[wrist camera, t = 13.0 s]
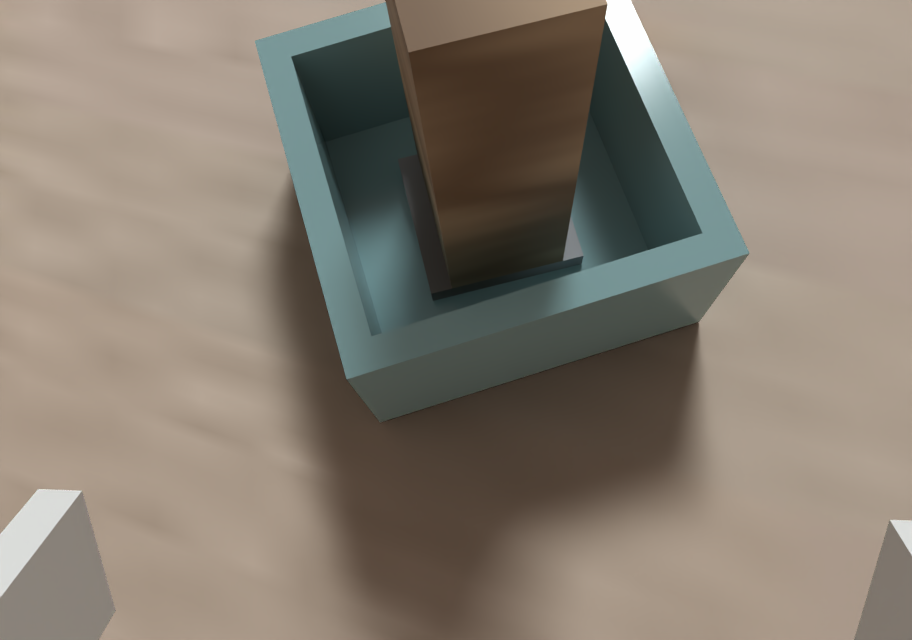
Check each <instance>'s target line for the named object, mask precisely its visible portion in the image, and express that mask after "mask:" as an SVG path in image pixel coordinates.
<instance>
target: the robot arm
mask: <svg viewBox="0 0 912 640" xmlns="http://www.w3.org/2000/svg"><path fill="white" fill-rule="evenodd" d="M115 611H116V610H115V606H114V603H113V599H112V596H111V592H110V589H109V585H108V581H107V578H106V574H105V571H104V567H103V564H102V560H101V556H100V553H99V549H98V546H97V542H96V539H95V535H94V532H93V528H92V524H91V521H90V517H89V514H88V510H87V507H86V503H85V499H84V496H83V492H82V491H75V490H48V489H38V490H37V491H36V492H35V494H34V495H33V496H32V497H31V498H30V500H29V501H28V502H27V503H26V504H25V506H24V507H23V508H22V509H21V510H20V511H19V513H18V514H17V515H16V516H15V517H14V519H13V520H12V521H11V522H10V523H9V524H8V526H7V527H6V528H5V529H4V530H3V532H2V533H1V534H0V640H99V638H100V636H101V635H102V633H103V631H104V630H105V628H106V626H107V624H108V623H109V621H110V619H111V618H112V616H113V614H114V612H115ZM854 640H912V521H908V520H890V521H889V524H888V527H887V531H886V534H885V537H884V541H883V544H882V548H881V551H880V554H879V558H878V561H877V564H876V568H875V571H874V575H873V578H872V581H871V585H870V588H869V591H868V595H867V598H866V602H865V605H864V608H863V612H862V615H861V618H860V622H859V625H858V629H857V632H856V635H855V639H854Z"/></svg>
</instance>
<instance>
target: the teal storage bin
mask: <svg viewBox="0 0 912 640" xmlns="http://www.w3.org/2000/svg"><path fill="white" fill-rule="evenodd" d="M606 1H607V3H608V6H607V11H606V17H605V23H604V28H603V34H602V40H601V46H600V51H599V57H598V63H597V69H596V74H595V80H594V86H593V91H592V97H591V103H590V109H589V114H588V120H587V126H586V131H585V137H584V143H583V149H582V154H581V160H580V166H579V172H578V177H577V183H576V189H575V194H574V200H573V206H572V212H571V218H572V221H573V224H574V227H575V230H576V233H577V237H578V240H579V243H580V246H581V249H582V252H583V255H584V256H583V261H582V264H579V265H575V266H571V267H567V268H563V269H559V270H555V271H551V272H547V273H543V274H539V275H535V276H531V277H527V278H523V279H519V280H515V281H511V282H507V283H503V284H499V285H495V286H491V287H487V288H483V289H479V290H475V291H471V292H467V293H463V294H459V295H455V296H451V297H447V298H443V299H439V300H435V301H433V299H432V295H431V291H430V287H429V283H428V279H427V275H426V271H425V267H424V263H423V259H422V255H421V251H420V247H419V243H418V239H417V235H416V231H415V227H414V223H413V219H412V215H411V211H410V207H409V203H408V199H407V195H406V191H405V187H404V183H403V179H402V175H401V171H400V167H399V163H398V159H400V158H404V157H408V156H412V155H416V154H417V150H416V146H415V141H414V136H413V131H412V126H411V122H410V117H409V112H408V107H407V102H406V97H405V93H404V88H403V83H402V78H401V73H400V68H399V64H398V59H397V54H396V49H395V44H394V39H393V35H392V30H391V25H390V20H389V15H388V10H387V6H386V2H385V3H382V4H378V5H375V6H371V7H368V8H365V9H361V10H358V11H354V12H351V13H348V14H344V15H341V16H337V17H334V18H331V19H327V20H324V21H321V22H317V23H314V24H310V25H307V26H304V27H300V28H297V29H293V30H290V31H287V32H283V33H280V34H276V35H273V36H270V37H266V38H263V39H259V40H256V41H255V43H256V47H257V51H258V54H259V58H260V62H261V65H262V69H263V73H264V76H265V80H266V84H267V88H268V91H269V95H270V99H271V102H272V106H273V110H274V113H275V117H276V121H277V124H278V128H279V132H280V136H281V139H282V143H283V147H284V150H285V154H286V158H287V161H288V165H289V169H290V173H291V176H292V180H293V184H294V187H295V191H296V195H297V198H298V202H299V206H300V209H301V213H302V217H303V221H304V224H305V228H306V232H307V235H308V239H309V243H310V246H311V250H312V254H313V258H314V261H315V265H316V269H317V272H318V276H319V280H320V283H321V287H322V291H323V294H324V298H325V302H326V306H327V309H328V313H329V317H330V320H331V324H332V328H333V331H334V335H335V339H336V343H337V346H338V350H339V354H340V357H341V361H342V365H343V368H344V372H345V376H346V379H347V381H348V382H349V383H350V385H351V386H352V387H353V388H354V390H355V391H356V392H357V394H358V395H359V396H360V397H361V399H362V400H363V401H364V403H365V404H366V405H367V406H368V408H369V409H370V410H371V412H372V413H373V414H374V415H375V417H376V418H377V419H378V421H379V422H383V421H386V420H390V419H393V418H396V417H399V416H402V415H405V414H409V413H412V412H415V411H418V410H421V409H424V408H428V407H431V406H434V405H437V404H440V403H443V402H447V401H450V400H453V399H456V398H459V397H462V396H466V395H469V394H472V393H475V392H478V391H481V390H485V389H488V388H491V387H494V386H497V385H500V384H504V383H507V382H510V381H513V380H516V379H519V378H523V377H526V376H529V375H532V374H535V373H538V372H541V371H545V370H548V369H551V368H554V367H557V366H560V365H564V364H567V363H570V362H573V361H576V360H579V359H583V358H586V357H589V356H592V355H595V354H598V353H602V352H605V351H608V350H611V349H614V348H617V347H621V346H624V345H627V344H630V343H633V342H636V341H640V340H643V339H646V338H649V337H652V336H655V335H659V334H662V333H665V332H668V331H671V330H674V329H678V328H681V327H684V326H687V325H690V324H693V323H697V322H699V321H700V320H701V319H702V317H703V316H704V314H705V313H706V312H707V310H708V309H709V308H710V306H711V305H712V304H713V302H714V301H715V299H716V298H717V297H718V295H719V294H720V293H721V291H722V290H723V289H724V287H725V286H726V284H727V283H728V282H729V280H730V279H731V278H732V276H733V275H734V274H735V272H736V271H737V269H738V268H739V267H740V265H741V264H742V263H743V261H744V260H745V259H746V257H747V256H748V254H749V251H748V249H747V247H746V245H745V243H744V241H743V239H742V236H741V234H740V232H739V230H738V228H737V226H736V224H735V222H734V219H733V217H732V215H731V213H730V211H729V209H728V207H727V205H726V202H725V200H724V198H723V196H722V194H721V192H720V190H719V187H718V185H717V183H716V181H715V179H714V177H713V175H712V173H711V170H710V168H709V166H708V164H707V162H706V160H705V158H704V156H703V153H702V151H701V149H700V147H699V145H698V143H697V141H696V139H695V136H694V134H693V132H692V130H691V128H690V126H689V124H688V122H687V119H686V117H685V115H684V113H683V111H682V109H681V107H680V105H679V102H678V100H677V98H676V96H675V94H674V92H673V90H672V88H671V85H670V83H669V81H668V79H667V77H666V75H665V73H664V71H663V68H662V66H661V64H660V62H659V60H658V58H657V56H656V54H655V51H654V49H653V47H652V45H651V43H650V41H649V39H648V37H647V34H646V32H645V30H644V28H643V26H642V24H641V22H640V20H639V17H638V15H637V13H636V11H635V9H634V7H633V5H632V3H631V0H606Z"/></svg>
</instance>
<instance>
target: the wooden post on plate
mask: <svg viewBox="0 0 912 640" xmlns="http://www.w3.org/2000/svg"><path fill="white" fill-rule="evenodd" d="M385 1H386V6H387V10H388V15H389V20H390V25H391V30H392V35H393V39H394V44H395V49H396V54H397V59H398V64H399V68H400V73H401V78H402V83H403V88H404V93H405V97H406V102H407V107H408V112H409V117H410V122H411V126H412V131H413V136H414V141H415V146H416V150H417V154H416V155H412V156H408V157H404V158H400V159H398V163H399V167H400V171H401V175H402V179H403V183H404V187H405V191H406V195H407V199H408V203H409V207H410V211H411V215H412V219H413V223H414V227H415V231H416V235H417V239H418V243H419V247H420V251H421V255H422V259H423V263H424V267H425V271H426V275H427V279H428V283H429V287H430V291H431V295H432V299H433V301H435V300H439V299H443V298H447V297H451V296H455V295H459V294H463V293H467V292H471V291H475V290H479V289H483V288H487V287H491V286H495V285H499V284H503V283H507V282H511V281H515V280H519V279H523V278H527V277H531V276H535V275H539V274H543V273H547V272H551V271H555V270H559V269H563V268H567V267H571V266H575V265H579V264H582V261H583V256H584V255H583V252H582V249H581V246H580V243H579V240H578V237H577V233H576V230H575V227H574V224H573V221H572V218H571V212H572V206H573V200H574V194H575V189H576V183H577V177H578V172H579V166H580V160H581V154H582V149H583V143H584V137H585V131H586V126H587V120H588V114H589V109H590V103H591V97H592V91H593V86H594V80H595V74H596V69H597V63H598V57H599V51H600V46H601V40H602V34H603V28H604V23H605V17H606V11H607V6H608V3H607V1H606V0H385Z"/></svg>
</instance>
